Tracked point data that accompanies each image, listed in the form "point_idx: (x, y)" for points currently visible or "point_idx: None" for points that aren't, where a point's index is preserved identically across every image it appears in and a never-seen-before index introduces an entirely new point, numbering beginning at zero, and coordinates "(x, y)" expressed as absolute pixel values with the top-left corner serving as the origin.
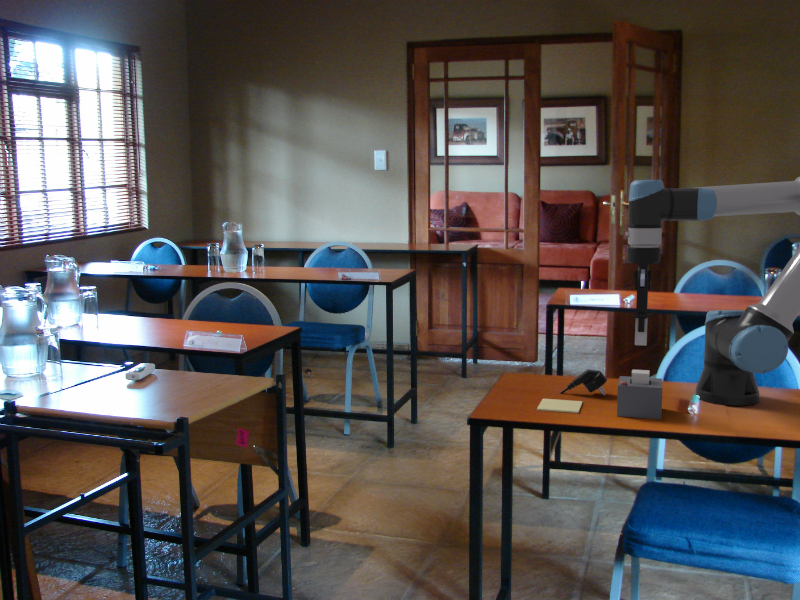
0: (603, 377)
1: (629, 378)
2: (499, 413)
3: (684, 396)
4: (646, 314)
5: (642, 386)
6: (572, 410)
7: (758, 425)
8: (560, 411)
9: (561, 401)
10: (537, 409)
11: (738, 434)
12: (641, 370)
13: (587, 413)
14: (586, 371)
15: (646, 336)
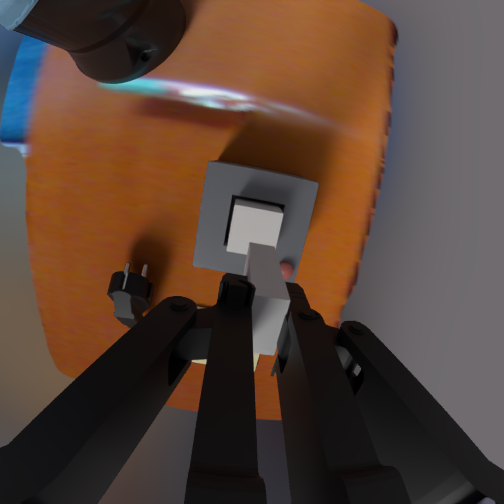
0: (133, 282)
1: (217, 246)
2: (274, 404)
3: (118, 104)
4: (371, 334)
5: (304, 228)
6: None
7: (323, 23)
8: None
9: None
10: (254, 369)
11: (380, 74)
12: (237, 227)
13: None
14: (126, 319)
15: (278, 261)
